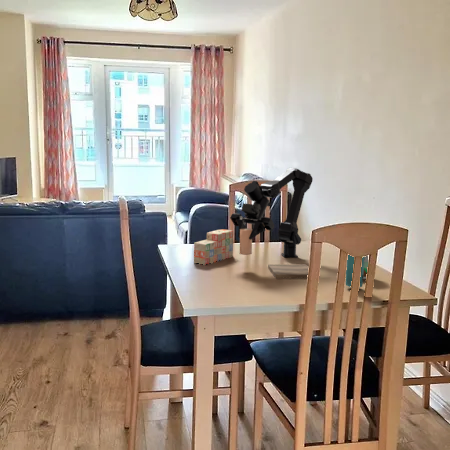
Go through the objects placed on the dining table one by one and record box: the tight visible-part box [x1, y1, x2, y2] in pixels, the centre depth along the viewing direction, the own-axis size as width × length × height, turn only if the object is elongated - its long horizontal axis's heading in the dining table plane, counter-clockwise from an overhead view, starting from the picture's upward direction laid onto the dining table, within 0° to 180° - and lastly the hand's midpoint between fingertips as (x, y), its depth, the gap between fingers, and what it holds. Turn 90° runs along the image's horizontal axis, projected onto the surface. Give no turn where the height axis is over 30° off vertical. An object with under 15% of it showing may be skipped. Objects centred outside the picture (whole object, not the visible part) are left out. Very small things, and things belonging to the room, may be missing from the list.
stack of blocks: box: [193, 228, 234, 266], centre depth 232 cm, size 21×6×12 cm, turn 146°
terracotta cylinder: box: [239, 227, 253, 256], centre depth 216 cm, size 5×5×10 cm
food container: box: [363, 256, 368, 282], centre depth 207 cm, size 12×6×10 cm, turn 168°
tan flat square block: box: [267, 263, 309, 280], centre depth 214 cm, size 16×16×2 cm
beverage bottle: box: [345, 255, 365, 288], centre depth 191 cm, size 6×7×20 cm
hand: (244, 238), depth 214 cm, fingers closed on terracotta cylinder, 5 cm apart
